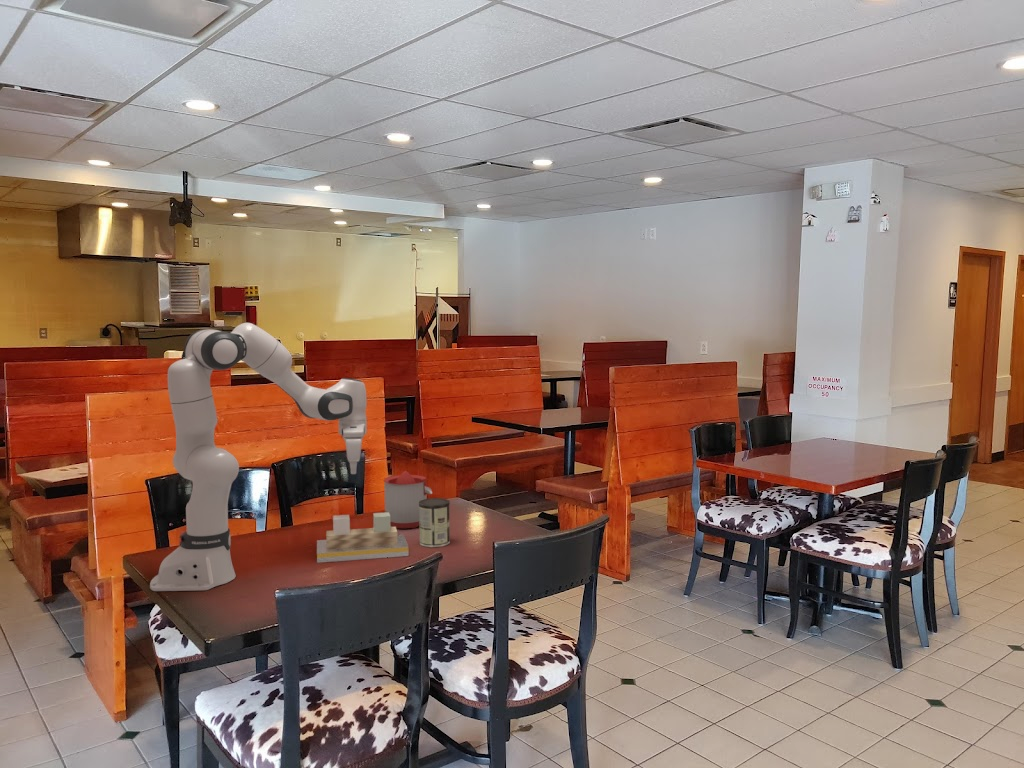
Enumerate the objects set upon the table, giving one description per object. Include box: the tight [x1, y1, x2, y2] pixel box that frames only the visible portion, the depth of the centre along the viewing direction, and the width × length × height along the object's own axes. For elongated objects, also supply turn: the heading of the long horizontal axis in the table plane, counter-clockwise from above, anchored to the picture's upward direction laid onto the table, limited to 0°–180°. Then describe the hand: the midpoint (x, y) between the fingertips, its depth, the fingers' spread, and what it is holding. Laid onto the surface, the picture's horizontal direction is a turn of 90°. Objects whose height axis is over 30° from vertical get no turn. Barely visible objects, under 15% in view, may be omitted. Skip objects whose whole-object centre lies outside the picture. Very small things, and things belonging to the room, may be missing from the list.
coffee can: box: [418, 497, 451, 548], centre depth 255 cm, size 10×10×14 cm
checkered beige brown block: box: [325, 526, 398, 549], centre depth 244 cm, size 22×6×4 cm, turn 104°
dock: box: [316, 534, 410, 564], centre depth 244 cm, size 28×14×3 cm, turn 104°
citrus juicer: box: [383, 470, 433, 529], centre depth 276 cm, size 16×17×20 cm
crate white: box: [332, 514, 351, 535], centre depth 242 cm, size 5×5×5 cm
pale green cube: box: [372, 511, 391, 533], centre depth 245 cm, size 5×5×5 cm
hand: (353, 470), depth 246 cm, fingers open, 8 cm apart
